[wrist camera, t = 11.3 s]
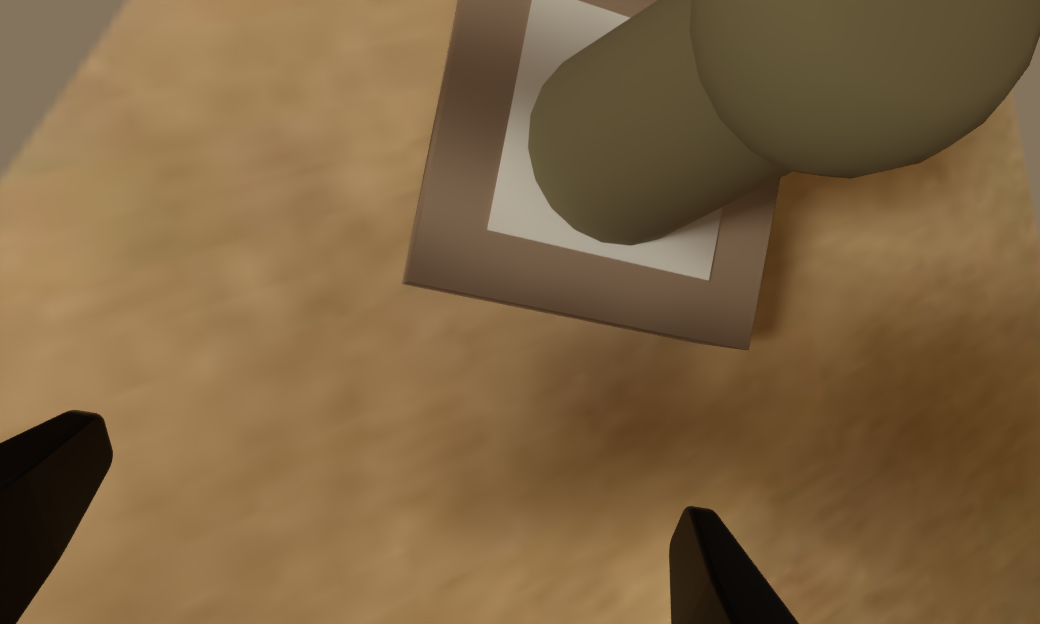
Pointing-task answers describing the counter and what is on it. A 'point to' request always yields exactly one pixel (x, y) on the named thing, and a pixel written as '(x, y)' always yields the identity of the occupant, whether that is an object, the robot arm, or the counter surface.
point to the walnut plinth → (527, 214)
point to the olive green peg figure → (763, 101)
